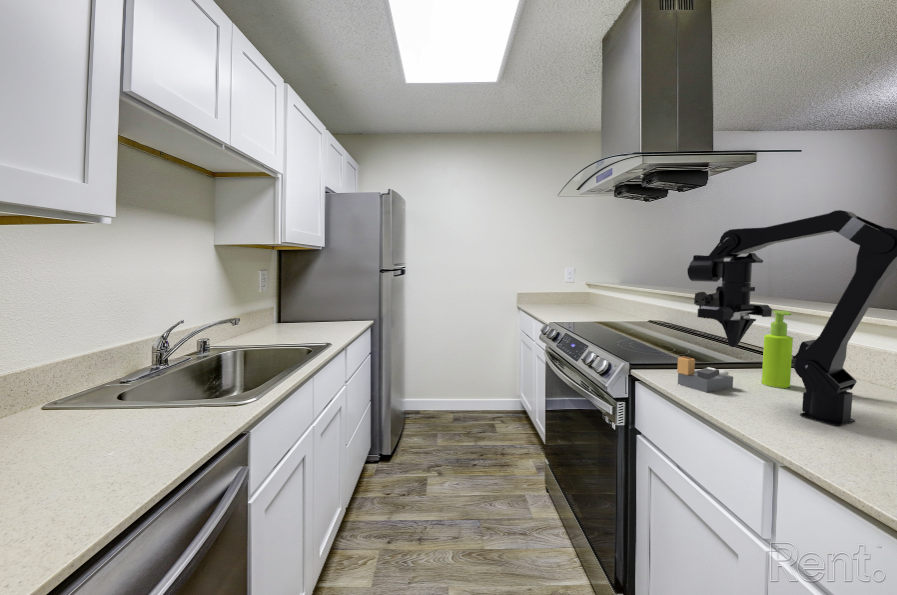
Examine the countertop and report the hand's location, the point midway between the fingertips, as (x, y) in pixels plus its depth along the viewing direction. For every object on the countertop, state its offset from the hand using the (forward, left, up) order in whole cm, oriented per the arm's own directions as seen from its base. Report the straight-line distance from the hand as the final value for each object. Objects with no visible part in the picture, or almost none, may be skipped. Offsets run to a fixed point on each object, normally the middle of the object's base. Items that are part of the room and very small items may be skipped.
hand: (733, 346), depth 98 cm
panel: (+8, -2, -12) cm, 15 cm away
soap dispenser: (+1, -20, -12) cm, 23 cm away
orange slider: (+11, +2, -9) cm, 14 cm away
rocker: (+5, +1, -8) cm, 10 cm away
